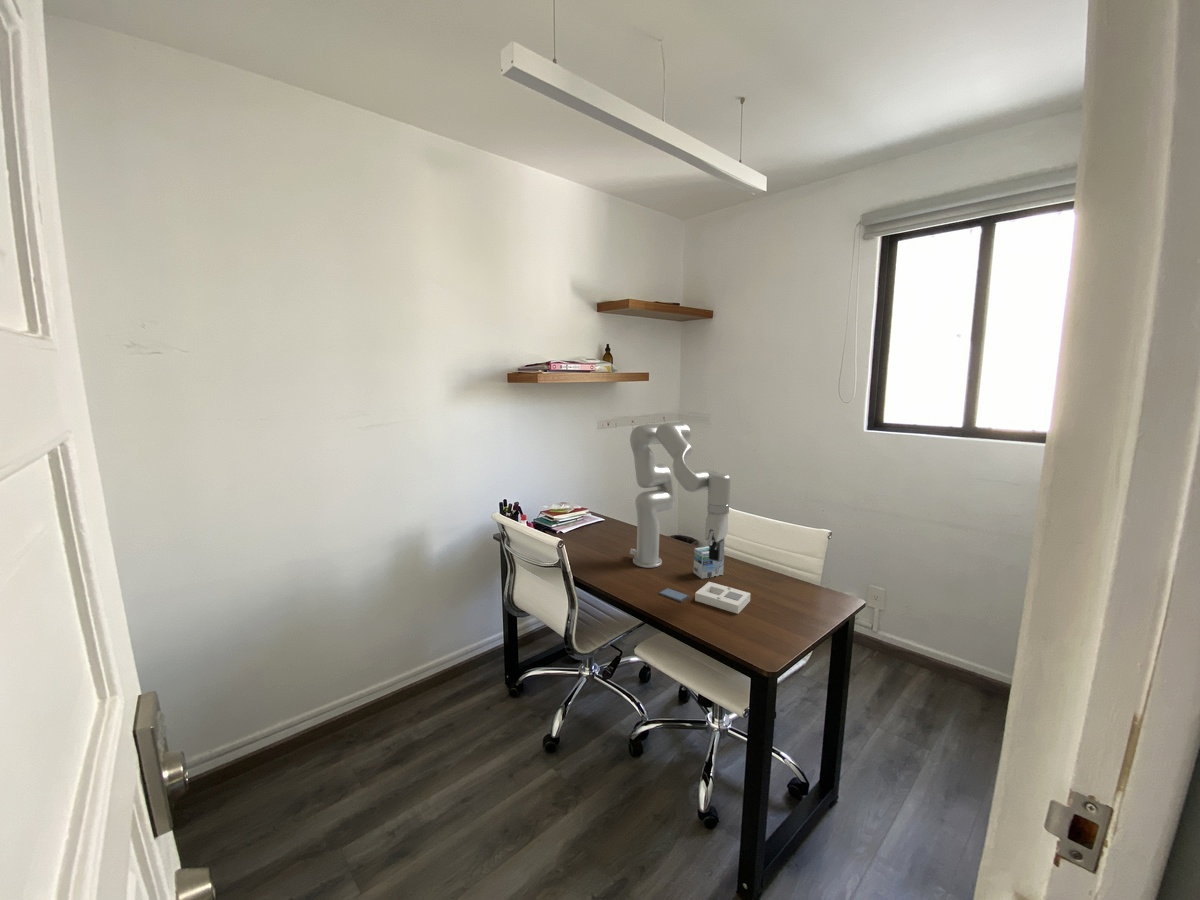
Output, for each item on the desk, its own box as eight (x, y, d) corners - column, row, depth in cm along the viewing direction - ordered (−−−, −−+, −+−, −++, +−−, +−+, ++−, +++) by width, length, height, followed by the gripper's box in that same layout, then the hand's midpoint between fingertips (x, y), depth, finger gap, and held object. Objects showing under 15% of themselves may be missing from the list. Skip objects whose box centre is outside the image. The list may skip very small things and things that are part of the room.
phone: (658, 595, 178) (658, 592, 178) (667, 590, 182) (667, 587, 182) (681, 603, 171) (681, 601, 171) (689, 598, 176) (689, 595, 176)
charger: (708, 559, 172) (709, 540, 171) (713, 556, 175) (714, 537, 174) (719, 561, 170) (720, 542, 169) (723, 558, 173) (724, 539, 172)
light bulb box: (701, 579, 191) (703, 553, 190) (692, 572, 197) (693, 547, 196) (723, 575, 195) (725, 550, 194) (714, 569, 201) (715, 544, 200)
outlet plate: (694, 600, 173) (695, 592, 172) (708, 588, 183) (709, 581, 182) (737, 613, 164) (738, 605, 163) (750, 601, 173) (750, 592, 173)
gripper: (717, 501, 179) (715, 548, 181) (698, 511, 166) (696, 562, 168) (737, 505, 174) (734, 553, 177) (718, 515, 161) (716, 567, 164)
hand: (716, 557), depth 173 cm, fingers closed on charger, 4 cm apart
